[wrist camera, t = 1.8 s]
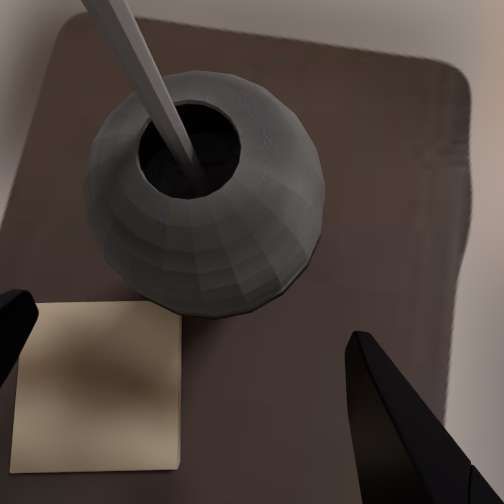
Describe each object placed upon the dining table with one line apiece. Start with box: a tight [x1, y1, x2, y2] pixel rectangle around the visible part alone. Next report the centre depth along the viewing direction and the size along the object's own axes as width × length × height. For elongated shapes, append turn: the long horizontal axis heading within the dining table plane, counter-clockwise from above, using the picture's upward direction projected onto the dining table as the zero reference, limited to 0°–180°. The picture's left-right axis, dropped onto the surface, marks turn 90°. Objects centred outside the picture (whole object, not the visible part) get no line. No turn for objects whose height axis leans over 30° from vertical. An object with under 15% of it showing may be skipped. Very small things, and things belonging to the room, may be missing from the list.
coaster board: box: [10, 301, 182, 473], centre depth 20 cm, size 10×10×1 cm
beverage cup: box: [81, 0, 325, 320], centre depth 12 cm, size 7×7×20 cm
